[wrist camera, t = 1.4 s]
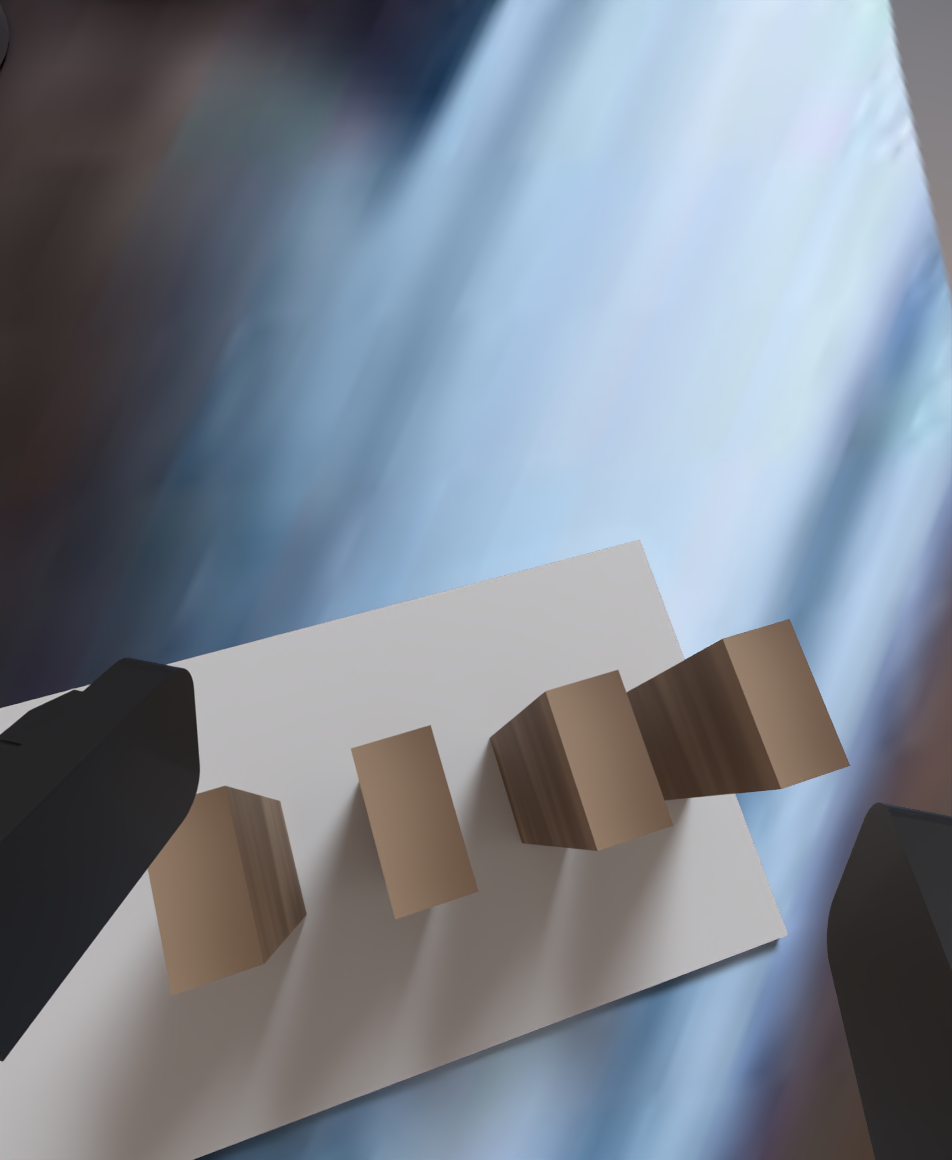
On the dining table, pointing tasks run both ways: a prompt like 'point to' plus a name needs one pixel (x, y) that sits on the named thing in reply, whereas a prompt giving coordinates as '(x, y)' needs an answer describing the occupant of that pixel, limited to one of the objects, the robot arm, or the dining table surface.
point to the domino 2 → (413, 821)
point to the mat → (358, 889)
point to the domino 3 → (580, 768)
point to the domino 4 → (737, 718)
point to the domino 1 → (225, 888)
